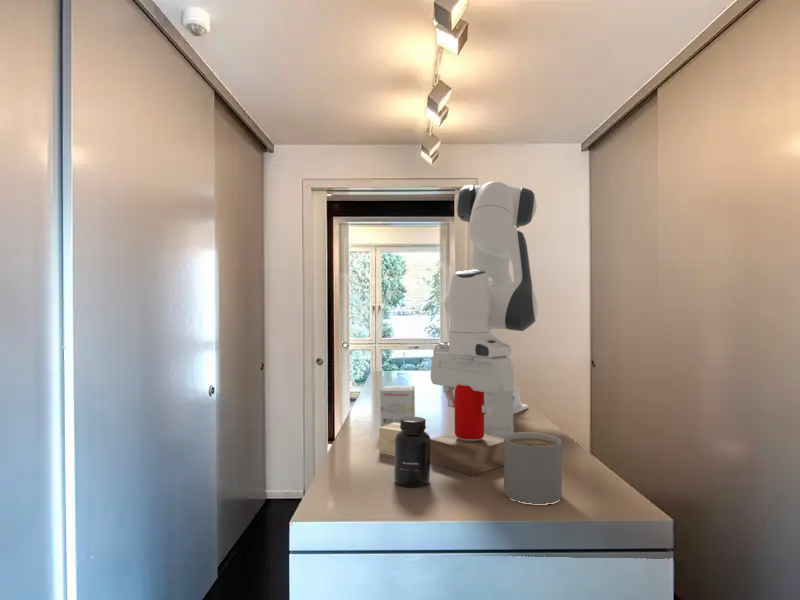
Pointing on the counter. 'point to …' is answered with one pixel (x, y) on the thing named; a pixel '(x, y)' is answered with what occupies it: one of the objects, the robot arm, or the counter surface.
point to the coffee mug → (533, 467)
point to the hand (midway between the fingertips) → (469, 410)
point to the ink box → (396, 403)
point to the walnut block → (467, 453)
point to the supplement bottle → (412, 453)
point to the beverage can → (468, 413)
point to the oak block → (388, 438)
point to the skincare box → (500, 416)
